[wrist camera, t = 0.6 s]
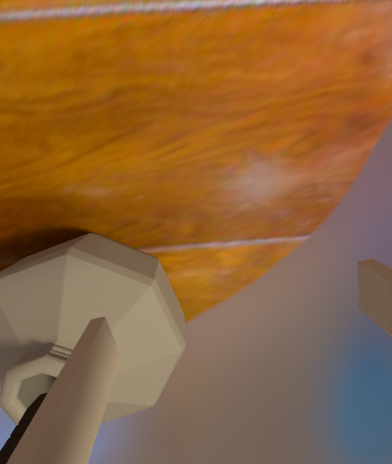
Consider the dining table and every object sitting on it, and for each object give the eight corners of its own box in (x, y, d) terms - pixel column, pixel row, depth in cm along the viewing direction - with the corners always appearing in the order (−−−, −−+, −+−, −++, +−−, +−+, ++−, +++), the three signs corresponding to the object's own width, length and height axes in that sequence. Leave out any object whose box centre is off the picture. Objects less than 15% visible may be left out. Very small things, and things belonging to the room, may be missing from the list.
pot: (96, 188, 37) (14, 215, 20) (218, 303, 44) (239, 403, 26) (-13, 301, 42) (-158, 406, 24) (112, 390, 49) (69, 524, 31)
